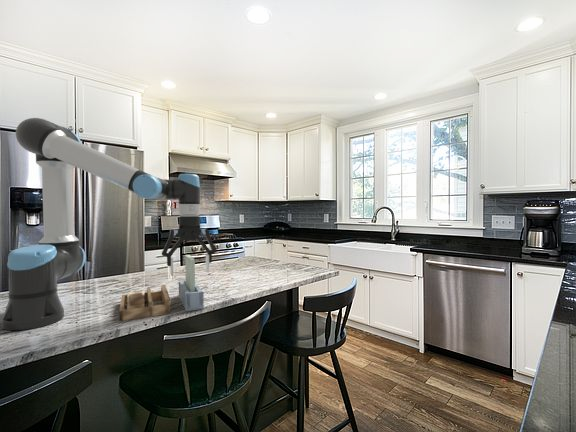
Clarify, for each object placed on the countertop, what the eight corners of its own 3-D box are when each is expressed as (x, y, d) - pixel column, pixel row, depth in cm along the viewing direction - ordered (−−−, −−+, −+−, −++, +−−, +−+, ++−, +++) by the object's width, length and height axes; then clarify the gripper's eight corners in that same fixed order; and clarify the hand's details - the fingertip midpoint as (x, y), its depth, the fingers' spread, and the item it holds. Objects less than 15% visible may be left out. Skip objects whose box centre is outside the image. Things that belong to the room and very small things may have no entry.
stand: (185, 311, 105) (185, 293, 105) (178, 296, 123) (178, 281, 123) (203, 308, 108) (203, 291, 108) (194, 294, 126) (194, 279, 125)
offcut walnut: (130, 305, 99) (130, 298, 99) (128, 301, 103) (128, 294, 103) (144, 303, 101) (144, 296, 101) (141, 299, 105) (141, 292, 105)
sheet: (190, 304, 110) (190, 259, 109) (185, 295, 120) (185, 255, 120) (195, 303, 110) (194, 259, 110) (190, 295, 121) (189, 254, 121)
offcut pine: (127, 309, 108) (127, 296, 108) (130, 304, 113) (130, 292, 113) (142, 307, 109) (142, 295, 109) (145, 302, 115) (145, 290, 115)
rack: (119, 320, 96) (119, 304, 96) (122, 303, 114) (122, 289, 114) (170, 313, 103) (170, 298, 103) (165, 297, 121) (165, 285, 121)
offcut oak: (127, 318, 99) (127, 306, 98) (128, 312, 104) (128, 301, 104) (144, 316, 101) (144, 304, 101) (144, 310, 106) (144, 299, 106)
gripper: (154, 216, 106) (155, 278, 106) (224, 215, 116) (224, 271, 117) (153, 215, 112) (154, 274, 113) (219, 215, 123) (220, 268, 124)
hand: (190, 273), depth 115 cm, fingers open, 12 cm apart
